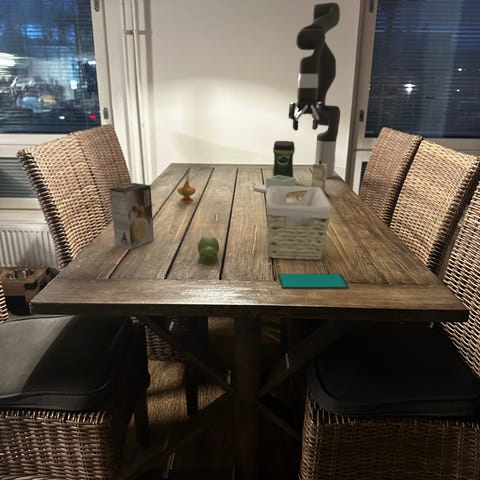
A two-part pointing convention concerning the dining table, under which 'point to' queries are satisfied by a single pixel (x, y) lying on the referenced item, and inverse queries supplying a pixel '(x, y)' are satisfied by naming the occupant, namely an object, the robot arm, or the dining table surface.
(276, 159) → the coffee jar
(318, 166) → the beige long rectangular block
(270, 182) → the stand
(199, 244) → the green rounded piece
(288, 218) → the storage basket
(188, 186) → the magic lamp
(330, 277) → the smartphone
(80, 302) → the dining table surface
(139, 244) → the coffee box
